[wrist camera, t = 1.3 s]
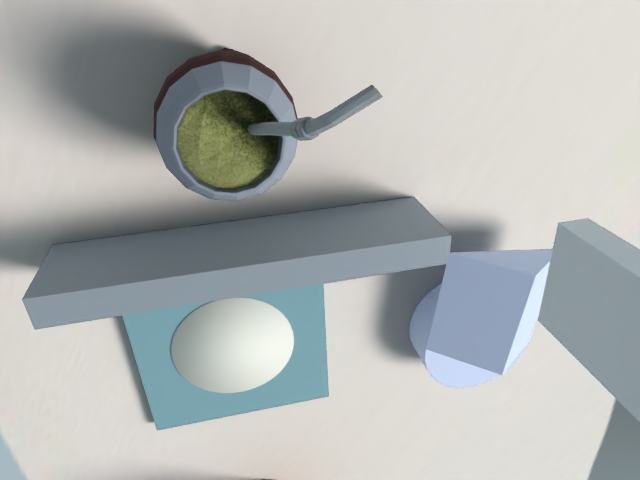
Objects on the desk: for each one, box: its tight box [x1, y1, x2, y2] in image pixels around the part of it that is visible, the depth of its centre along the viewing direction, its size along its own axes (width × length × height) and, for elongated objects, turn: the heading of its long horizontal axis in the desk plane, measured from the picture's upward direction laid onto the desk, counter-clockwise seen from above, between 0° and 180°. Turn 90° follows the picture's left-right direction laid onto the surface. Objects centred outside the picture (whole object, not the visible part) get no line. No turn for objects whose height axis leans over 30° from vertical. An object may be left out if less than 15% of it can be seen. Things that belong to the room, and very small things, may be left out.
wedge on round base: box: [409, 249, 553, 388], centre depth 37 cm, size 9×7×13 cm
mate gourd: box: [154, 48, 383, 201], centre depth 22 cm, size 8×8×15 cm
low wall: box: [22, 197, 452, 329], centre depth 30 cm, size 2×24×6 cm, turn 92°
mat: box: [122, 284, 329, 430], centre depth 36 cm, size 14×14×1 cm
